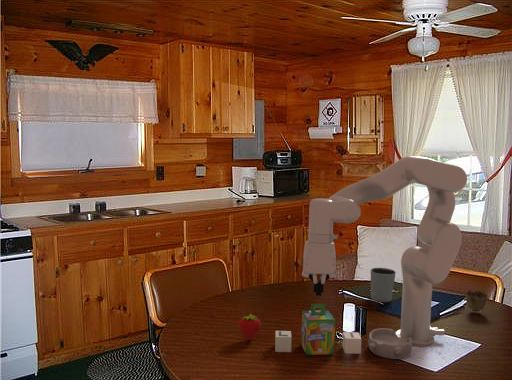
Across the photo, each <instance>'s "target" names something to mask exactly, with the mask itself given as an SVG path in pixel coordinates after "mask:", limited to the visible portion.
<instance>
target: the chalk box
mask: <svg viewBox="0 0 512 380" xmlns="http://www.w3.org/2000/svg"><path fill="white" fill-rule="evenodd" d="M316 308H319V310H318V309H316ZM335 337H336V319H335V318H334V315H332V314H331V313H330V311H329V310H327V309H326V304H325V303H312V304H310V310H302V311H301V337H300V338H301V339H300V345H301V347H302V349H303V352H304V353H305V356H320V355H321V356H324V355H328V356H330V355H334V354H335Z"/></svg>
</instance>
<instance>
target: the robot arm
mask: <svg viewBox="0 0 512 380" xmlns="http://www.w3.org/2000/svg"><path fill="white" fill-rule="evenodd" d="M467 183H468V175H467V172H466V171H465V170H464V168H462V167H460V166H458V165H455V164H452V163H451V164H450V163H446V162H442V161H439V160H435V159H433V158H430V157H429V158H428V157H424V156H417V155H406V156H404V157H401V158H400V159H398V160H397V161H395V162H394V163H392V164H390V165H389V166H386V168H384V169H382V170H381V171H379V172H377V173H376V174H374V175H372V176H370V177H369V176H368V177H366V178H364V179H362V180H359V181H357V182H354V183H352V184H350V185H349V184H348V186H344V187H343V188H342V189H340V190H338V191H337V192H335V193H334V194H332V195H331V196H330V197H329V198H320V197H319V198H313V199H311V200H310V201H309V210H308V211H309V213H308V214H309V215H308V240H306V241H305V243H304V246H303V256H302V257H303V259H302V273H301V275H302V277H305V278H308V279H310V281H312V283H313V287H312V288H313V291H312V292H313V293H314V294H315V296H316V297H318V296H319V297H321V296H322V294H323V293H324V284H325V283H326V282H327V281H328V280H329V279H333V278H336V277H337V273H336V271H337V270H336V269H337V267H336V266H337V261H336V259H337V257H336V255H337V254H336V247H335V242H334V240H337V239H338V235H337V234H334V233H333V231H334V223H342V224H352V223H354V222H356V221H358V220H359V218H360V216H361V215H362V213H361V212H362V210H361V207H360V205H361V204H364V203H368V202H374V201H382V200H387V199H389V198H391V197H392V196H394V195H395V194H397V193H398V192H400V191H401V190H403V189H405V188H407V187H408V186H409V185H411V184H418V185H422V186H426V189H427V191H428V202H427V206H426V209H425V211H424V213H423V216H422V218H421V219H420V223H419V226H418V227H417V231H416V237H417V239H418V240H419V242H421V243H422V244H424V245H426V246H429V247H430V248H429V249H428V248H424V247H421V246H416V245H415V246H410V247H408V248H407V249H406V250H404V252H403V253H402V255H401V259H400V265H401V266H400V268H401V274H402V291H401V311H400V329H398V330H397V331H395V333H396V335H397V336H398V337H399V338H400V339H401V340H403V341H405V340H407V339H408V338H409V337H410V338H411V339H412V346H415V347H416V346H418V347H424V346H430V345H432V344H433V343H434V342H435V336H445V330H444V329H439V328H438V327H431V317H432V311H431V310H432V299H433V298H432V296H433V284H434V285H435V284H440V283H441V282H443V281H444V280H445V279H446V278H447V277H448V275H449V273H450V272H451V270H452V267H453V264H454V263H455V260H456V258H457V255H458V253H459V251H460V248H461V245H462V241H463V240H462V239H463V238H462V235H463V234H462V230H461V229H460V227H459V226H458V225H456V224H455V223H453V222H452V221H451V220H452V217H453V215H454V213H455V207H456V197H455V193H457V192H458V193H459V192H461V191H462V190H463V189H464V188H465V186H466V185H467ZM318 275H320V277H319V280H318V277H317V276H318Z"/></svg>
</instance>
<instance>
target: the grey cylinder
mask: <svg viewBox="0 0 512 380" xmlns="http://www.w3.org/2000/svg"><path fill="white" fill-rule="evenodd" d="M396 274H397V273H396V270H394V269H392V268H391V269H390V268H386V267H373V268H370V298H371V299H372V301H374V302H380V303H388V302H391V301H392V299H393V291H394V287H395V286H394V283H395V279H396Z"/></svg>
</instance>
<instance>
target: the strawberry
mask: <svg viewBox="0 0 512 380" xmlns="http://www.w3.org/2000/svg"><path fill="white" fill-rule="evenodd" d="M261 326H262V323H261V320H260V319H259V317H257V316H256V315H253V314H252V312H250V314H249V315H243V316H242V318H241V319H240V320H239V321H238V328H239V331H240V333H241V334H242V335H243V336H244V338H246V340H247V341H252V340H253V339H254V338H255V336H256V335H257V334H258V333H259V331H260V329H261Z"/></svg>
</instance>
